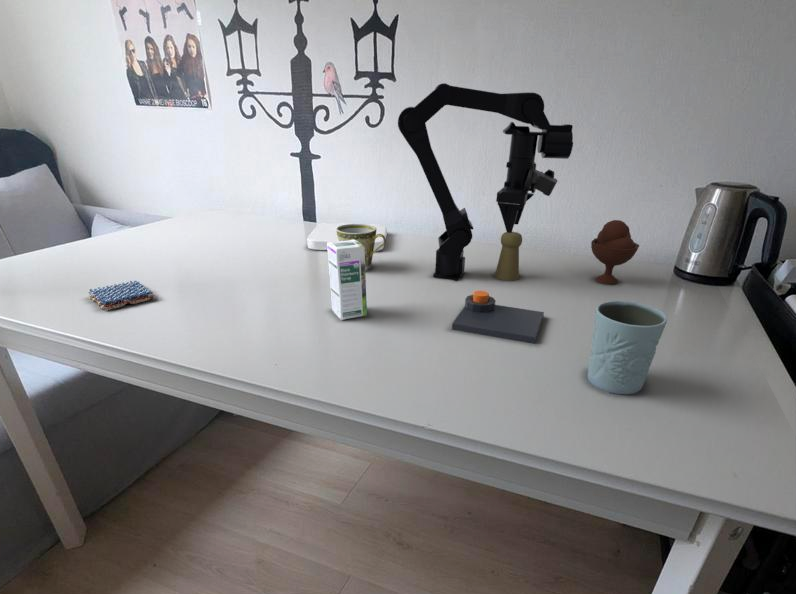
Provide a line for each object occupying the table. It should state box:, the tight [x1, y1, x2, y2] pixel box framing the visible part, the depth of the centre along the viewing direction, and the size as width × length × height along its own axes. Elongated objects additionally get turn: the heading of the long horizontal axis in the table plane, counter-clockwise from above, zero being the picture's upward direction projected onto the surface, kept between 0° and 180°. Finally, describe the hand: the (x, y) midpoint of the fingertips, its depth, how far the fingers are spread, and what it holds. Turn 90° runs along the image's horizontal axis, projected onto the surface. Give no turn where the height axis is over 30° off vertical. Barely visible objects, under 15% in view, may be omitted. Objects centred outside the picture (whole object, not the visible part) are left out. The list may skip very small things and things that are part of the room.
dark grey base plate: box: [451, 294, 545, 345], centre depth 97 cm, size 16×14×3 cm
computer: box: [306, 222, 388, 252], centre depth 147 cm, size 22×22×3 cm
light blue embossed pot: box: [587, 300, 668, 396], centre depth 76 cm, size 10×10×12 cm
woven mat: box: [88, 280, 156, 311], centre depth 103 cm, size 10×11×2 cm
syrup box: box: [326, 239, 368, 321], centre depth 97 cm, size 6×6×14 cm
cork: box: [494, 231, 523, 281], centre depth 120 cm, size 6×6×11 cm
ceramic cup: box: [336, 223, 387, 272], centre depth 123 cm, size 13×10×10 cm
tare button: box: [472, 290, 490, 303], centre depth 101 cm, size 3×3×2 cm
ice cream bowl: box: [590, 219, 640, 286], centre depth 118 cm, size 11×11×15 cm
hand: (512, 228), depth 117 cm, fingers open, 9 cm apart
